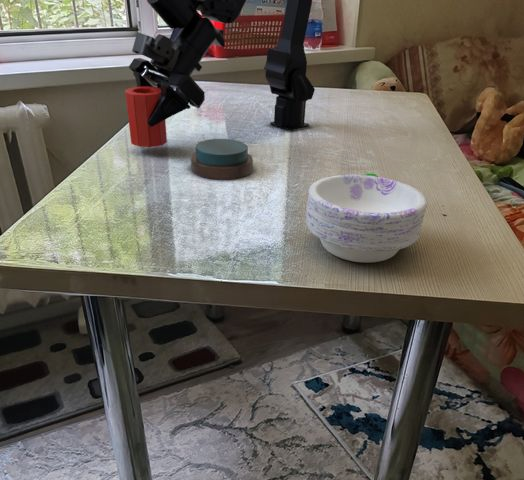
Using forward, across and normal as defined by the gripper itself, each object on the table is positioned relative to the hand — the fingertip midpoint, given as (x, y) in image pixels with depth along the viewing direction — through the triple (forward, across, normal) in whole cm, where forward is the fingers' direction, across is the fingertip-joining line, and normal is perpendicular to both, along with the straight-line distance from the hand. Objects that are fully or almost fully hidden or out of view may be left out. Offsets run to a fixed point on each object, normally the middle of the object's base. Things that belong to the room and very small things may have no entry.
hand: (140, 120), depth 101 cm
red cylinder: (+2, 0, +4) cm, 4 cm away
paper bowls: (0, +52, +8) cm, 52 cm away
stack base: (-1, +16, +10) cm, 18 cm away
